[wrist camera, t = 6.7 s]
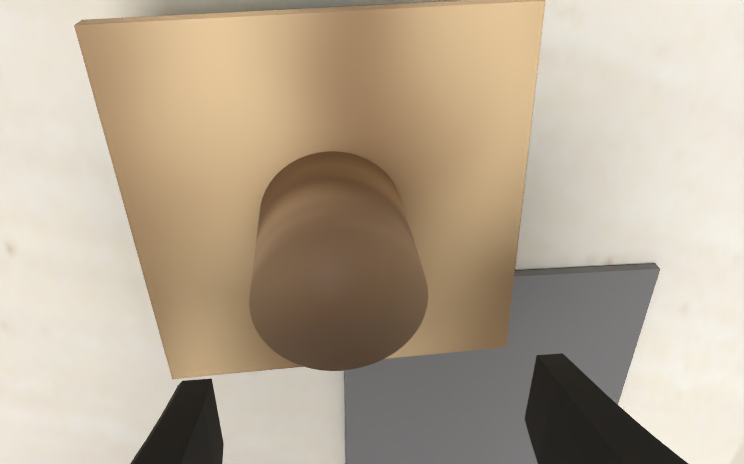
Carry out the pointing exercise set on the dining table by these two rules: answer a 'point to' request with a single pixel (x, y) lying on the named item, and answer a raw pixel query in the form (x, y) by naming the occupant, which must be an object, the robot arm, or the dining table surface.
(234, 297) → the oak lid
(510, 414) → the rubber mat
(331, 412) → the dining table surface
